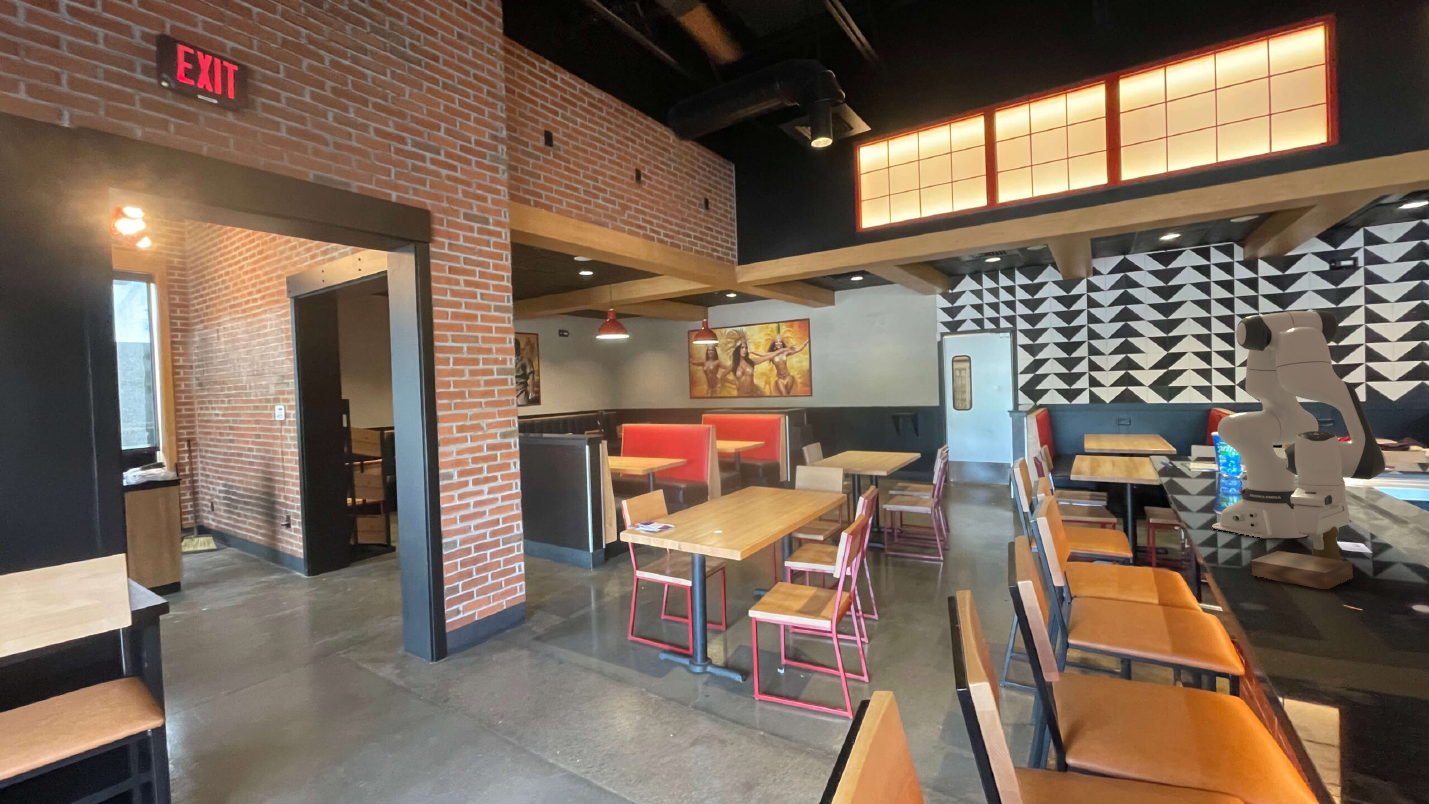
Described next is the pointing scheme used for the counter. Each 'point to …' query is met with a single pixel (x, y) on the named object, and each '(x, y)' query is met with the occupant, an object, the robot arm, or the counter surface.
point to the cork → (1329, 546)
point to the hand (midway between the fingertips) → (1325, 546)
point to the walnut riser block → (1302, 569)
